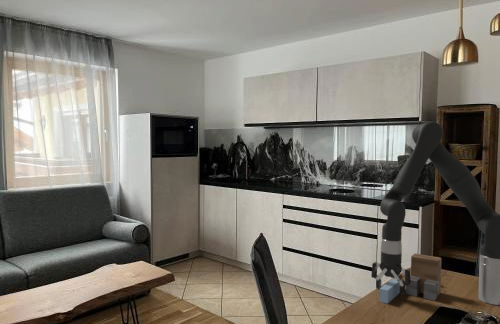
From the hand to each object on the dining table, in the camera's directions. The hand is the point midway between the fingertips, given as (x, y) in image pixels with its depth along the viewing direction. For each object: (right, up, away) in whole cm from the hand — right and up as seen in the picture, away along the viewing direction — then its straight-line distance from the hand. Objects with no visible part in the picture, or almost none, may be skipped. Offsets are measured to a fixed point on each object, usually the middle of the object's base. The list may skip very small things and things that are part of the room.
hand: (390, 292), depth 149 cm
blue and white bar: (+1, -2, +2) cm, 3 cm away
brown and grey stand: (+14, -2, +3) cm, 15 cm away
